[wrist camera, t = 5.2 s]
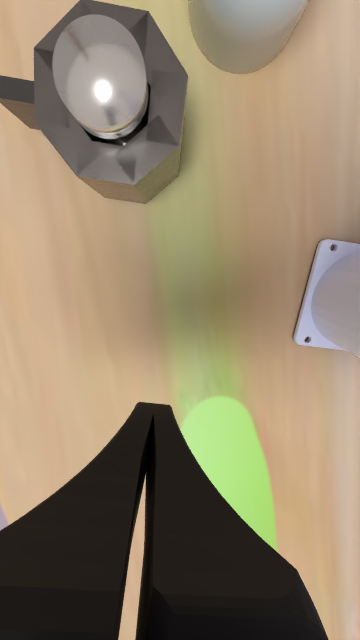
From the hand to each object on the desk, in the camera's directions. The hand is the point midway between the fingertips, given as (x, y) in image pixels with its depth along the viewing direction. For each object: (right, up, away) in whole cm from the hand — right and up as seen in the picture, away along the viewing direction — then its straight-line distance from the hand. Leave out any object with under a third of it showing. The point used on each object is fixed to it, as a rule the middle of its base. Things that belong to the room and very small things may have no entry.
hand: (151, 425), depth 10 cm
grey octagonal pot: (-3, +16, +6) cm, 17 cm away
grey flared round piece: (-2, +16, +6) cm, 17 cm away
